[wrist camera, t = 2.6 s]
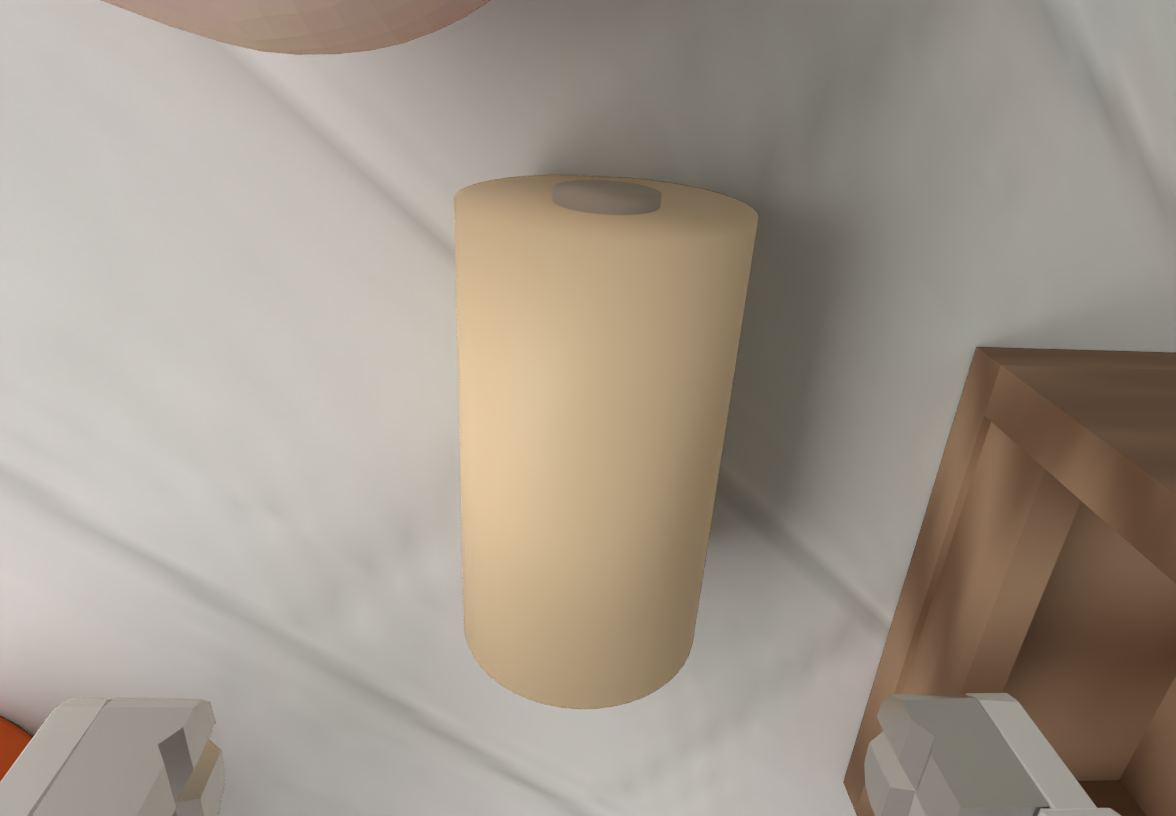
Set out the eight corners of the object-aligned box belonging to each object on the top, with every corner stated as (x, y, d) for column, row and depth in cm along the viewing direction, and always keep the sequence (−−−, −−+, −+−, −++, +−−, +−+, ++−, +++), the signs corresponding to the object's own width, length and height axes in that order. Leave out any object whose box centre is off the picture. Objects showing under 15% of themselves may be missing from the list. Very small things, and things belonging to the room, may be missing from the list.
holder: (976, 347, 17) (1294, 582, 10) (1347, 357, 18) (1892, 584, 11) (843, 782, 23) (977, 1114, 16) (1118, 776, 24) (1363, 1092, 17)
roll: (424, 165, 14) (507, 234, 10) (668, 162, 16) (826, 219, 12) (440, 578, 18) (503, 747, 14) (631, 538, 20) (736, 676, 16)
